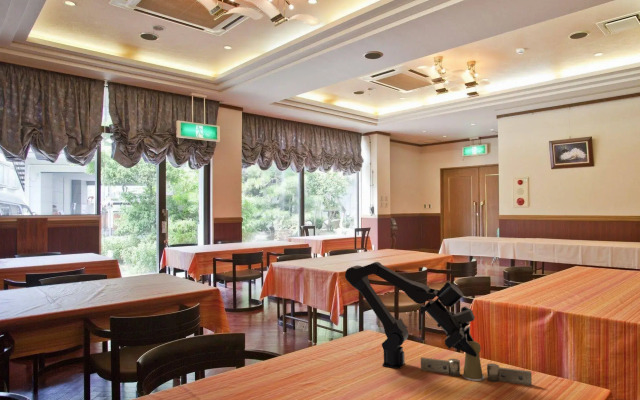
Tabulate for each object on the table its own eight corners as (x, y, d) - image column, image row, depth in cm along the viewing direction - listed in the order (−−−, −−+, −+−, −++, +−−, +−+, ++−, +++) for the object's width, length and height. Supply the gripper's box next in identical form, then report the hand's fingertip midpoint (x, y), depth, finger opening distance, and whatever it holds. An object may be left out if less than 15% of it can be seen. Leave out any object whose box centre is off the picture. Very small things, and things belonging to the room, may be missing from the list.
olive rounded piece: (486, 378, 134) (485, 344, 134) (469, 380, 133) (468, 345, 133) (476, 371, 140) (475, 338, 140) (459, 372, 139) (458, 339, 139)
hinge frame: (419, 373, 140) (419, 359, 140) (423, 366, 146) (422, 353, 146) (532, 389, 126) (531, 374, 126) (531, 380, 132) (530, 366, 132)
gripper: (454, 306, 130) (493, 346, 125) (462, 295, 147) (497, 330, 141) (429, 328, 133) (466, 368, 128) (440, 315, 150) (473, 350, 145)
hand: (477, 353), depth 136 cm, fingers open, 5 cm apart
